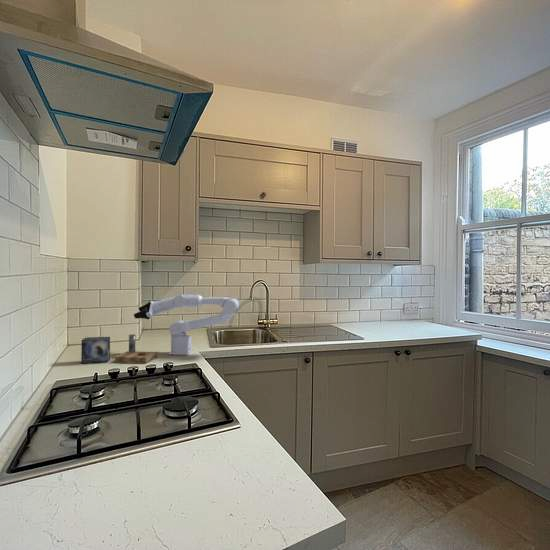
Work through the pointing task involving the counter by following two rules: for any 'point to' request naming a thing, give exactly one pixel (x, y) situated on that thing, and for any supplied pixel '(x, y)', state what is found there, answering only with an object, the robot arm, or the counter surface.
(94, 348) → the small box
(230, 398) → the counter surface
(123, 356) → the hole block
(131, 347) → the peg
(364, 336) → the counter surface
